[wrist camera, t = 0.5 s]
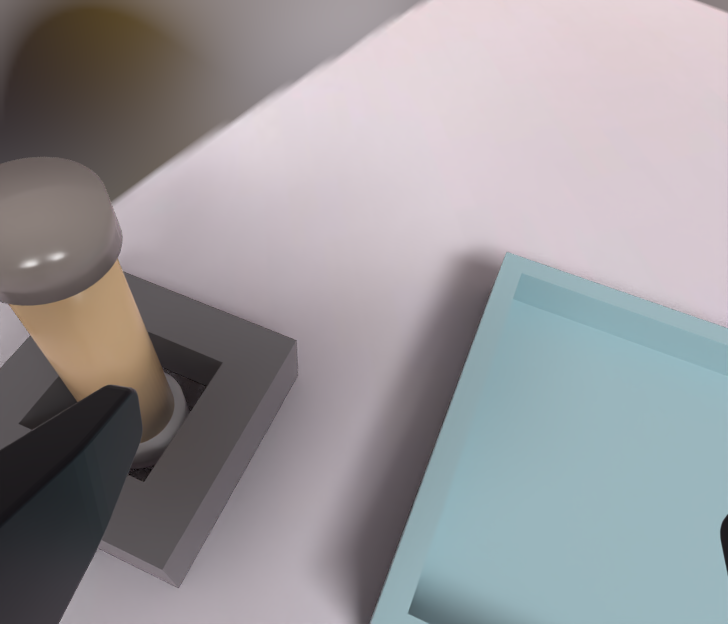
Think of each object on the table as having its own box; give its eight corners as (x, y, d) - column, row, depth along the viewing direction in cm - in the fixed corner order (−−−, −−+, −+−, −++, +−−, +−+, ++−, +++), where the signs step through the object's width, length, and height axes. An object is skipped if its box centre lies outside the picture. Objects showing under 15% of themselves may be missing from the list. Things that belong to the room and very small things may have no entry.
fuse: (156, 484, 24) (36, 290, 14) (74, 446, 25) (-100, 234, 14) (207, 403, 27) (138, 185, 16) (131, 370, 27) (17, 140, 17)
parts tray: (894, 901, 18) (983, 926, 16) (361, 643, 21) (368, 631, 19) (850, 417, 28) (900, 388, 26) (491, 289, 32) (506, 251, 29)
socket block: (178, 588, 22) (161, 569, 20) (-38, 481, 24) (-77, 452, 21) (297, 375, 28) (296, 340, 25) (116, 301, 29) (98, 261, 27)
